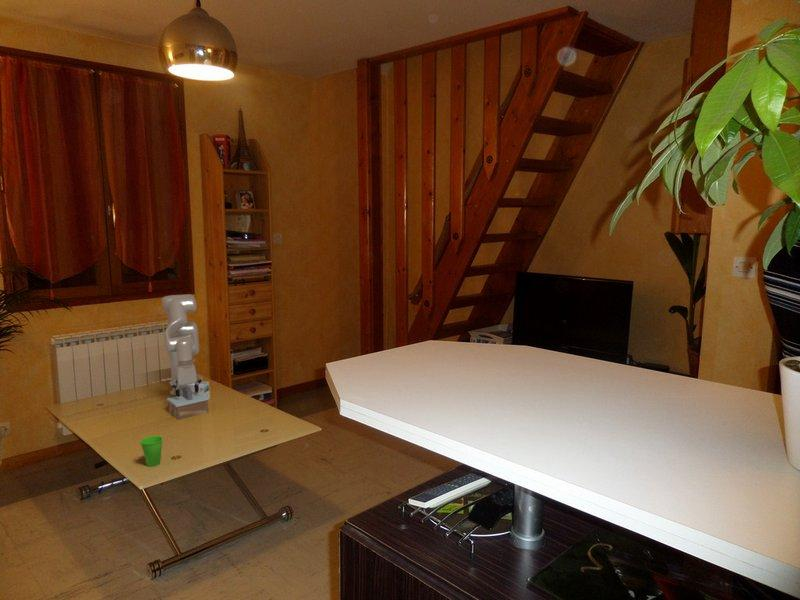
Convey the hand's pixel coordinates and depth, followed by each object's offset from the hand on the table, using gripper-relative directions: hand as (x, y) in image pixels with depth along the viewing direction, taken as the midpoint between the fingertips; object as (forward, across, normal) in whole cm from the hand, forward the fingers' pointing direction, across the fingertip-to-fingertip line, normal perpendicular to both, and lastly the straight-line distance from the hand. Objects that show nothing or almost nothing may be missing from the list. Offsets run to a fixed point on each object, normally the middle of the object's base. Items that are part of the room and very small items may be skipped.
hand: (187, 394), depth 292 cm
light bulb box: (+11, -12, -18) cm, 25 cm away
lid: (+4, 0, 0) cm, 4 cm away
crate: (+11, 0, 0) cm, 11 cm away
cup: (+12, +33, +51) cm, 62 cm away
